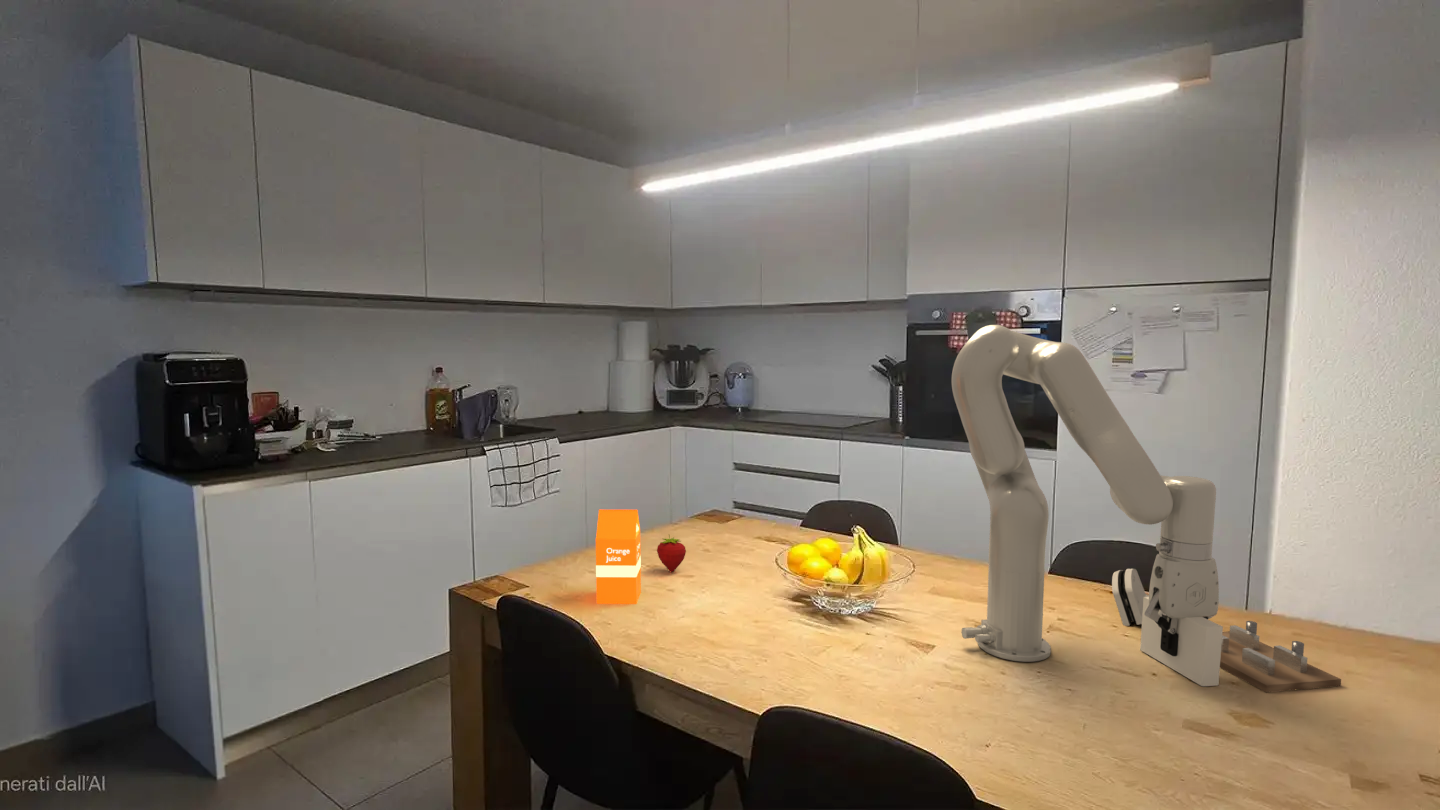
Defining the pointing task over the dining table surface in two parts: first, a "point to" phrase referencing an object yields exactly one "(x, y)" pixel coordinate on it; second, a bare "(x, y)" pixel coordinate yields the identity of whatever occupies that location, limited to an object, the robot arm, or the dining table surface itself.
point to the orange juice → (618, 557)
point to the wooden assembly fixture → (1269, 662)
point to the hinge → (1128, 595)
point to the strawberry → (671, 553)
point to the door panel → (1187, 647)
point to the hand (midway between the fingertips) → (1178, 651)
